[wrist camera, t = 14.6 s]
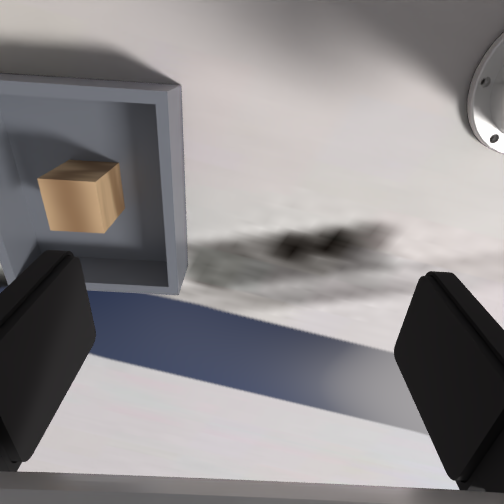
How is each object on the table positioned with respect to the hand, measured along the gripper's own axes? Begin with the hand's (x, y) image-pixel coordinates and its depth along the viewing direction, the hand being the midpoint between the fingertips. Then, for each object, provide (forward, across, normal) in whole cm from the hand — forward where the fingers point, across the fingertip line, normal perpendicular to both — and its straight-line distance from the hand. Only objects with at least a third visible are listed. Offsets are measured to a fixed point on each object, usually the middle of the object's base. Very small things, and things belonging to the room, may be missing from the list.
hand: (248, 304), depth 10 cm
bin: (+28, +16, +7) cm, 33 cm away
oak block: (+27, +16, +7) cm, 32 cm away
